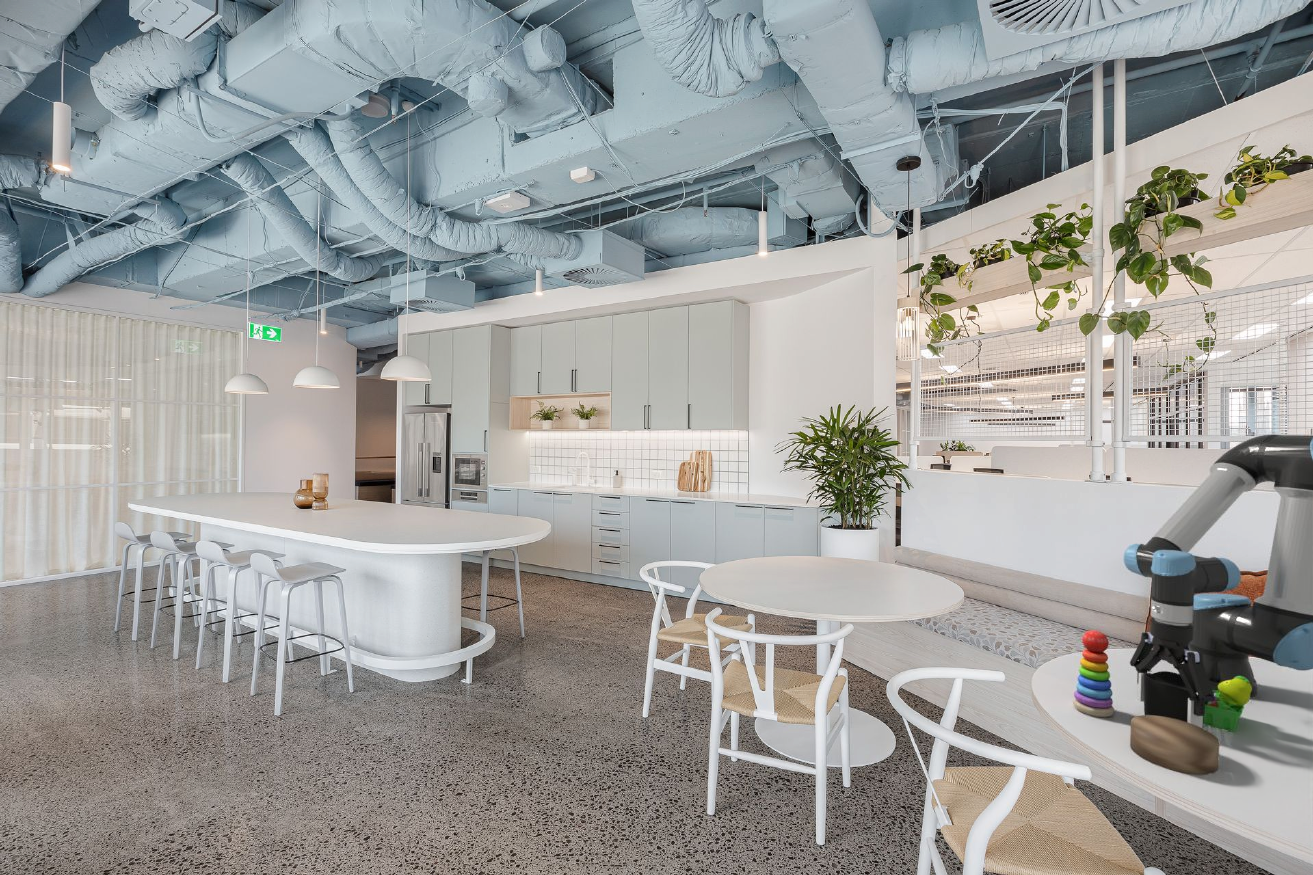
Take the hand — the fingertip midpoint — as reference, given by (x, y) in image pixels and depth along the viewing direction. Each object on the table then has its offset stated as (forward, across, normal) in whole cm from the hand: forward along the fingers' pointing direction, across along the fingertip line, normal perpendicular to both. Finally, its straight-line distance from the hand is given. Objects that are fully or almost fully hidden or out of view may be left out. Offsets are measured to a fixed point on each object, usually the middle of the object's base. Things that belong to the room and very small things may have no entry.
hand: (1168, 714), depth 147 cm
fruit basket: (+2, +1, +12) cm, 12 cm away
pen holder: (+2, 0, 0) cm, 2 cm away
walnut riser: (+2, +14, -11) cm, 18 cm away
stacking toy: (+2, -6, -13) cm, 14 cm away
